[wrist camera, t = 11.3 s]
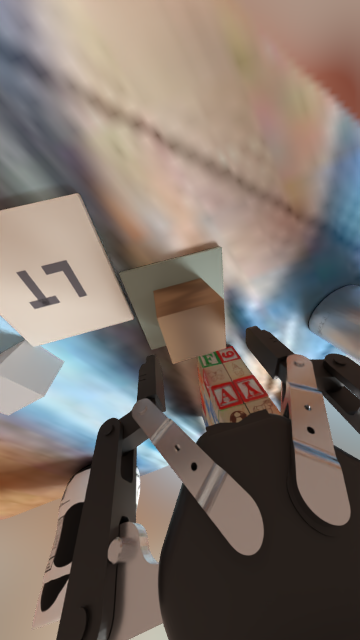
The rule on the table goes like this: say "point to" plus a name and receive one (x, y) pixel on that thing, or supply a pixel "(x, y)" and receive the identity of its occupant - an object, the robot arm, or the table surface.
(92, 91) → the table surface
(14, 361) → the grey block
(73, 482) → the milk container
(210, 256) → the grey-green mat
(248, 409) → the stack of blocks
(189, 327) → the walnut block
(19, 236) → the tile
